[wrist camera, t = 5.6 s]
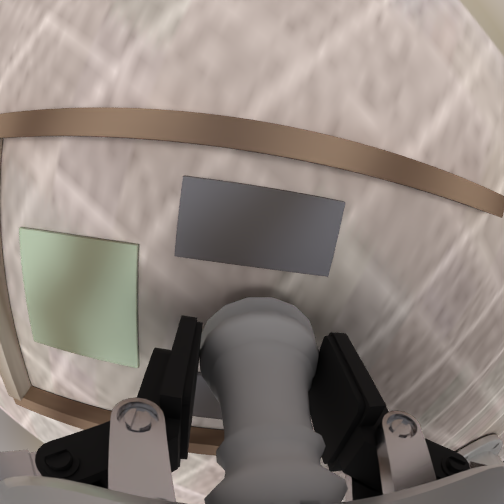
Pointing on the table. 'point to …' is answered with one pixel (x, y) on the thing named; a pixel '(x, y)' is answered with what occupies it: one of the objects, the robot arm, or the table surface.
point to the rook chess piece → (266, 405)
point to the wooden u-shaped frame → (183, 240)
